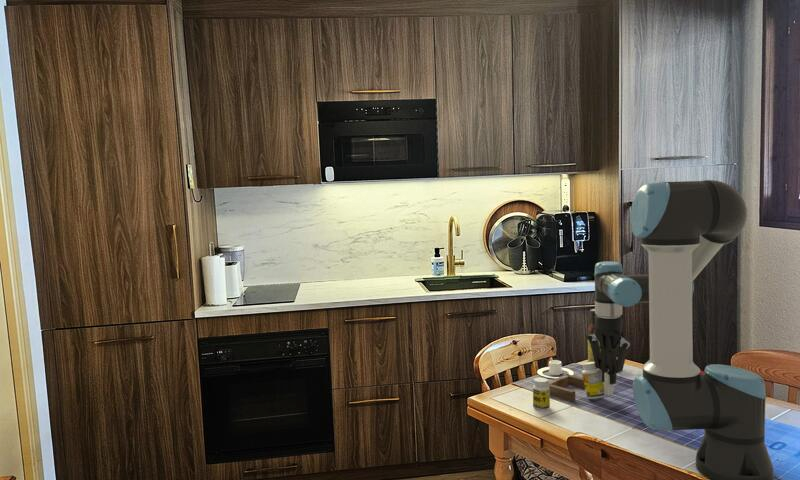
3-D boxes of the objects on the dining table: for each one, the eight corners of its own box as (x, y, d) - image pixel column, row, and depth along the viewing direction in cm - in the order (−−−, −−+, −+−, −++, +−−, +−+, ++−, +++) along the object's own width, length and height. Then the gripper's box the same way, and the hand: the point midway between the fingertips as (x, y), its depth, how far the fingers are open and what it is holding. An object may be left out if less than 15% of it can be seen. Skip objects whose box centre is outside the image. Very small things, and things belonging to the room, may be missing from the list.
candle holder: (573, 381, 199) (573, 368, 198) (535, 379, 202) (535, 366, 202) (574, 369, 210) (574, 357, 210) (538, 368, 214) (538, 356, 213)
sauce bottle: (608, 369, 208) (607, 312, 206) (589, 368, 209) (588, 312, 207) (605, 363, 215) (604, 307, 213) (586, 363, 216) (586, 308, 214)
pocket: (572, 402, 180) (572, 392, 180) (543, 393, 188) (542, 384, 188) (596, 390, 188) (596, 381, 188) (567, 383, 196) (567, 374, 196)
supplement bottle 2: (587, 396, 185) (580, 363, 186) (606, 394, 183) (599, 360, 184) (586, 400, 179) (579, 365, 181) (606, 398, 178) (598, 362, 179)
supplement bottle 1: (531, 409, 176) (530, 381, 175) (535, 403, 180) (534, 376, 179) (547, 411, 174) (547, 383, 173) (551, 405, 178) (551, 378, 177)
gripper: (636, 316, 173) (636, 395, 176) (596, 309, 183) (596, 384, 186) (622, 321, 168) (622, 403, 171) (581, 314, 178) (582, 391, 181)
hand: (608, 393), depth 179 cm, fingers closed
